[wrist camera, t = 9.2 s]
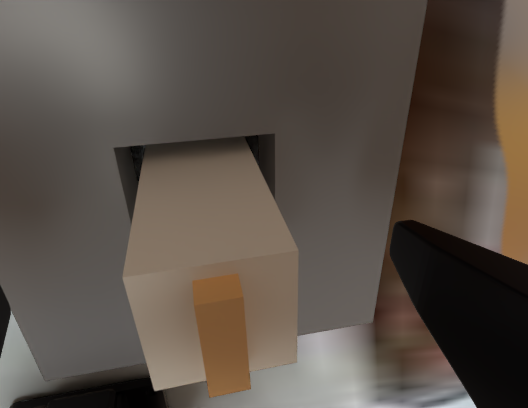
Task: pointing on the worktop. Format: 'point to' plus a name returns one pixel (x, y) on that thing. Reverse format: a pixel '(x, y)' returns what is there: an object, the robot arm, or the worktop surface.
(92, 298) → the jack panel
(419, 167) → the worktop surface
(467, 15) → the worktop surface
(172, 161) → the plug
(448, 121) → the worktop surface
